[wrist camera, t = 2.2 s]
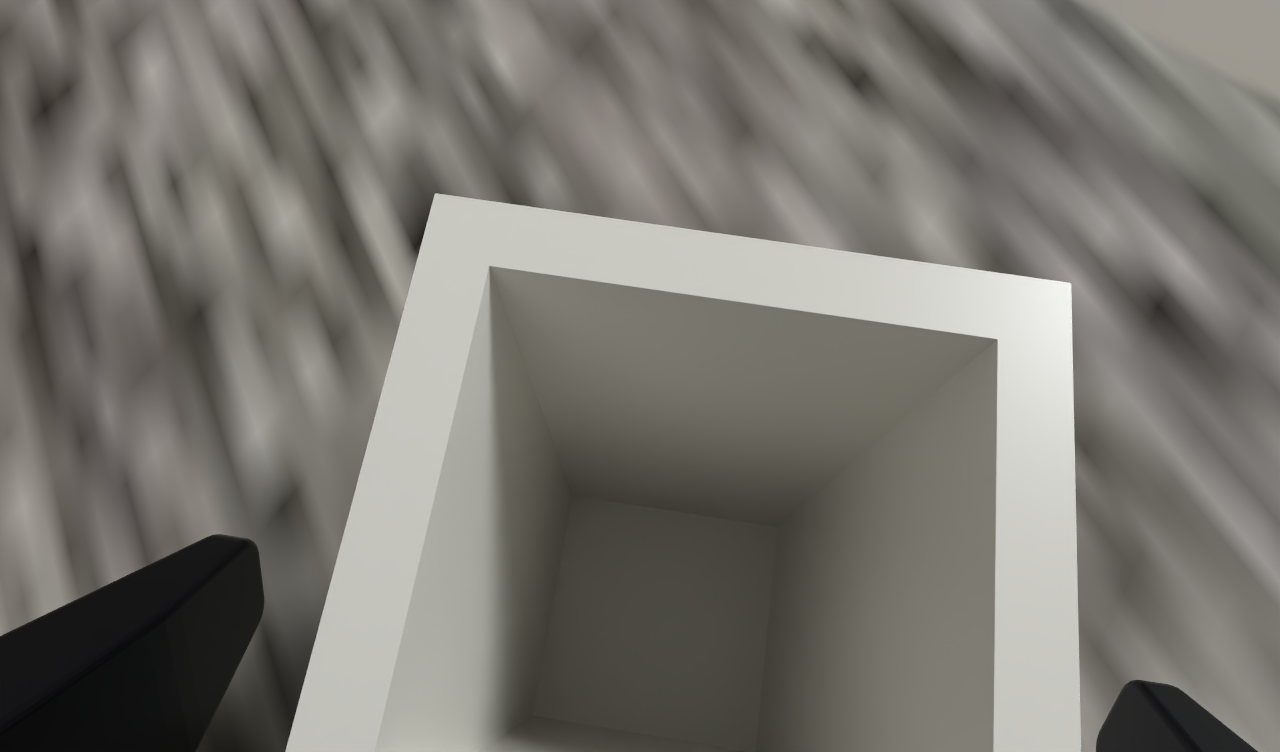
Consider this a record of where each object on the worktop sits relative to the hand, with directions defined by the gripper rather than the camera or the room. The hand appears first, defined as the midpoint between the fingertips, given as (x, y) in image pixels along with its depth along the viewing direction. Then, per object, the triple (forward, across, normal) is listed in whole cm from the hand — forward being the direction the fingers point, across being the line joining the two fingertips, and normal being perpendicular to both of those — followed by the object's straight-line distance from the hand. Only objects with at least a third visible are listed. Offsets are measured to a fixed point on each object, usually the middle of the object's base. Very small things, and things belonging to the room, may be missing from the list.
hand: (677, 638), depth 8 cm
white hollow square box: (+6, 0, +6) cm, 8 cm away
